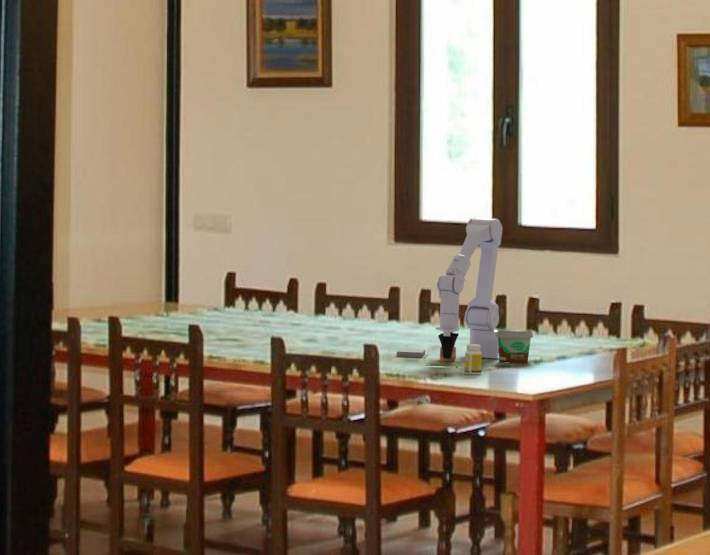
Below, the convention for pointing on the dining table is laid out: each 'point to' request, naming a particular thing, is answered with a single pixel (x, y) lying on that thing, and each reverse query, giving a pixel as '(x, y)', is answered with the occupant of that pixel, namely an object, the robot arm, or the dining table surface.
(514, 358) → the food container
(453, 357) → the terracotta cube
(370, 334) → the dining table surface
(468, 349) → the supplement bottle
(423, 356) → the walnut base slab
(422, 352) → the slate top slab
